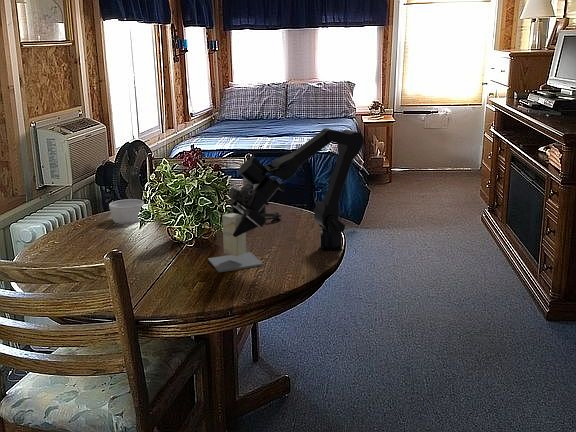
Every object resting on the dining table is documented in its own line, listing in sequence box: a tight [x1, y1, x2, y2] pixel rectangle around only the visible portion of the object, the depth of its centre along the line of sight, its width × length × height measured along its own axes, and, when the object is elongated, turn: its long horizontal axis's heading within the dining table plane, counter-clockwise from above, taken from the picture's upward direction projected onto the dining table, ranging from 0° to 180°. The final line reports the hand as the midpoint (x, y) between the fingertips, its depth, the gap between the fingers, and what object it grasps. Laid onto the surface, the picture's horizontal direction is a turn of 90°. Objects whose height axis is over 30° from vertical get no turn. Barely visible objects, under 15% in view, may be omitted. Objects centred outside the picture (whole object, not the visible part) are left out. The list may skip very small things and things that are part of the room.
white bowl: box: [108, 198, 145, 225], centre depth 242 cm, size 13×13×7 cm
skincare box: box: [221, 212, 247, 256], centre depth 192 cm, size 6×4×12 cm
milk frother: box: [241, 177, 282, 220], centre depth 241 cm, size 14×16×15 cm
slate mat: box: [207, 251, 264, 273], centre depth 194 cm, size 14×12×1 cm
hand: (230, 232), depth 191 cm, fingers closed on skincare box, 7 cm apart
